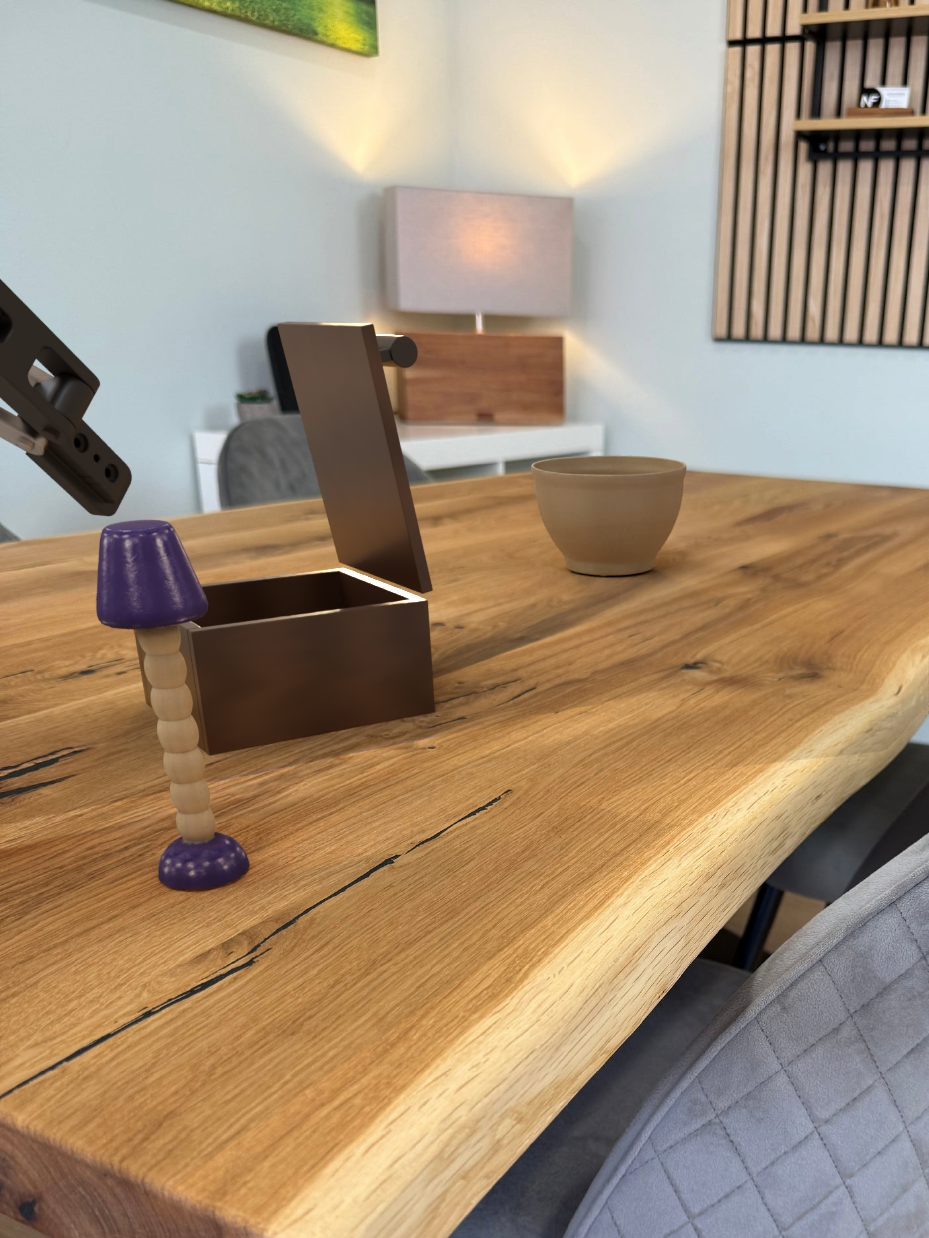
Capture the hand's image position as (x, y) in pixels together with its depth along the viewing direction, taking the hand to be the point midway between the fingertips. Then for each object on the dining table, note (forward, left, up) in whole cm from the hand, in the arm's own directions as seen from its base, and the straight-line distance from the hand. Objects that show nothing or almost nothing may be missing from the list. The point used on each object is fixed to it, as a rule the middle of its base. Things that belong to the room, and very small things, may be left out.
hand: (33, 490), depth 47 cm
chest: (+17, +21, -19) cm, 33 cm away
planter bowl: (+66, +55, -19) cm, 87 cm away
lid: (+22, +21, -2) cm, 31 cm away
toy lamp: (+5, +3, -19) cm, 20 cm away
